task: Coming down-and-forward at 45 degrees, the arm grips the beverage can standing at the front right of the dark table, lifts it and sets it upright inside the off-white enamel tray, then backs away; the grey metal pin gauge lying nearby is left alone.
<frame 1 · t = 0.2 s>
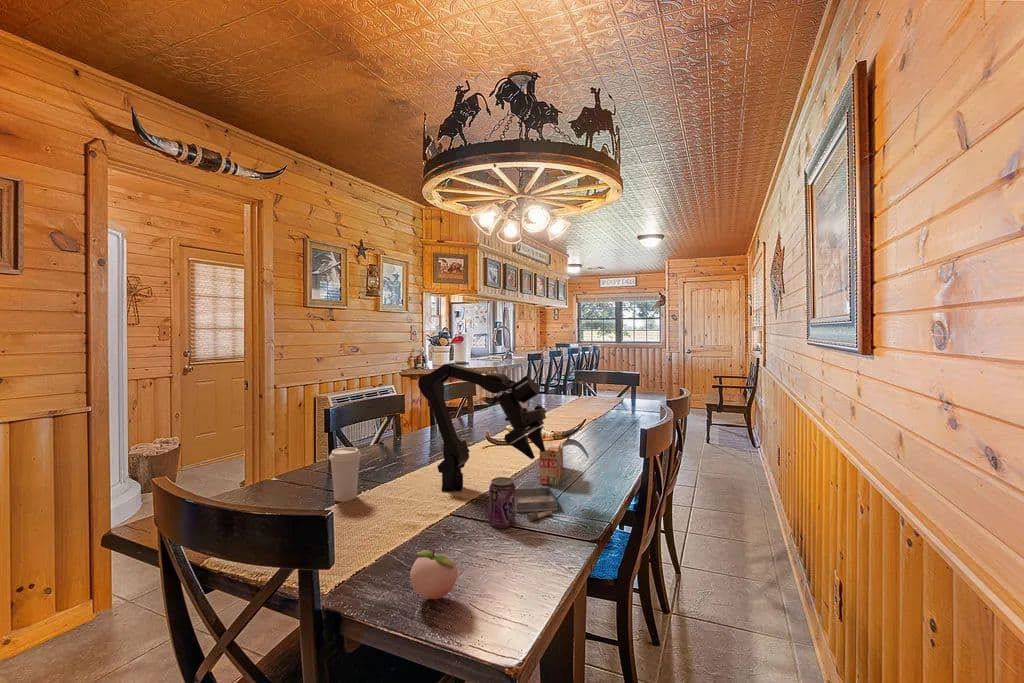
hand: (538, 454, 144), 15 cm above the table, tool tilted 35°, fingers open, 9 cm apart
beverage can: (502, 524, 129), on the table
stack of blocks: (551, 476, 171), on the table
decorative fruit: (432, 601, 93), on the table
pin gauge: (540, 517, 133), on the table
tray: (533, 503, 144), on the table
coffee cup: (345, 498, 148), on the table
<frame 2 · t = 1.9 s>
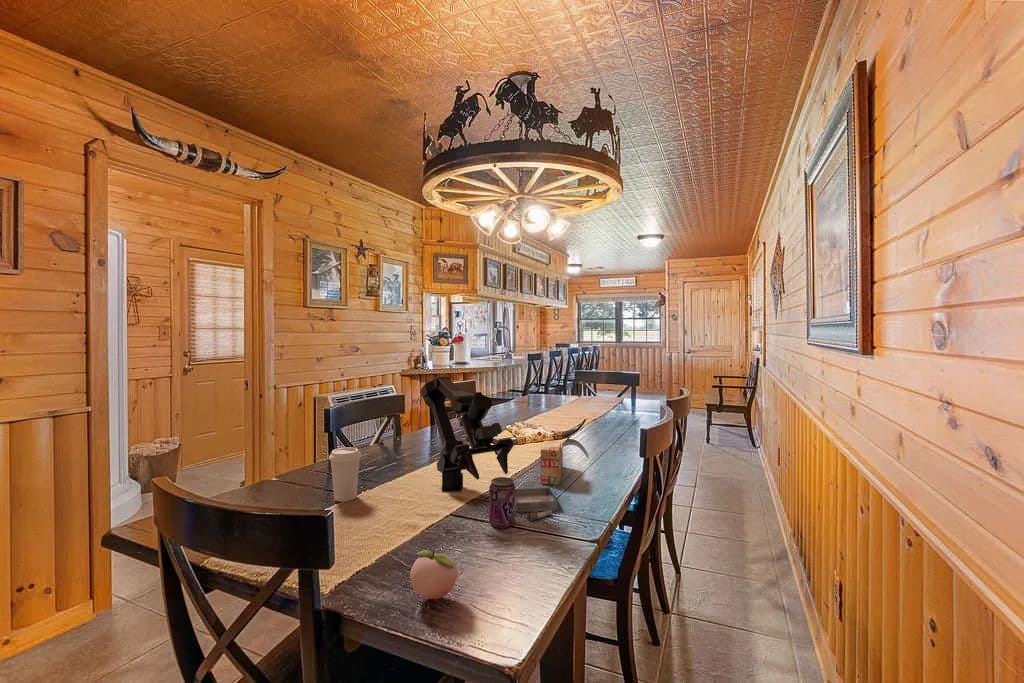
hand: (492, 476, 133), 12 cm above the table, tool tilted 45°, fingers open, 9 cm apart
nothing on the table moved.
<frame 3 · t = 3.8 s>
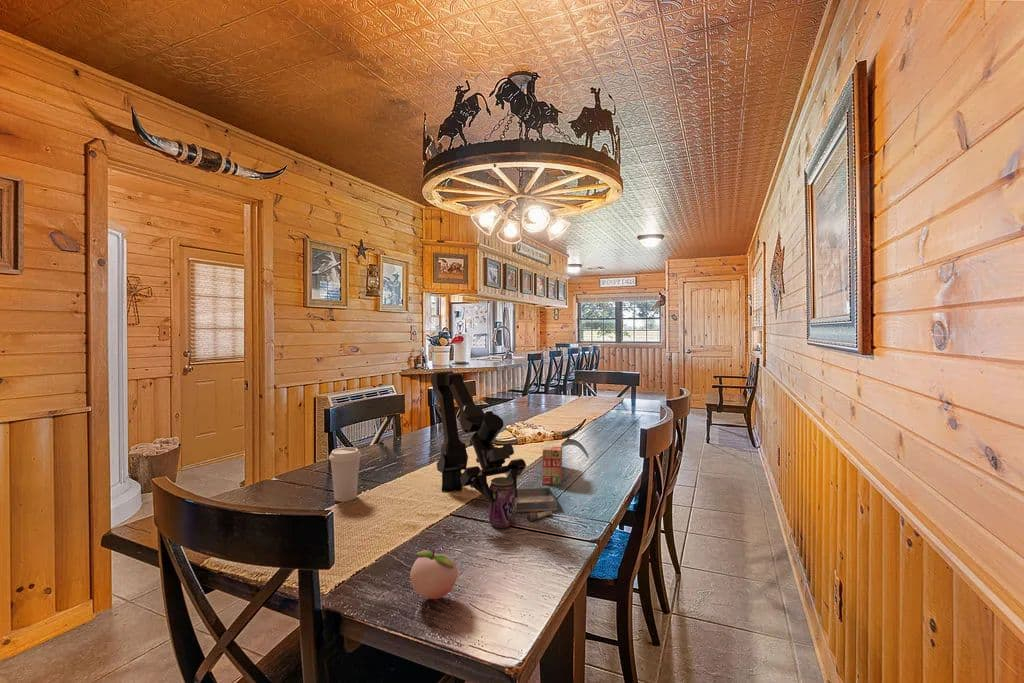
hand: (504, 500, 127), 7 cm above the table, tool tilted 45°, fingers closed on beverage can, 7 cm apart
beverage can: (502, 524, 129), on the table, touching gripper
everything else where it was.
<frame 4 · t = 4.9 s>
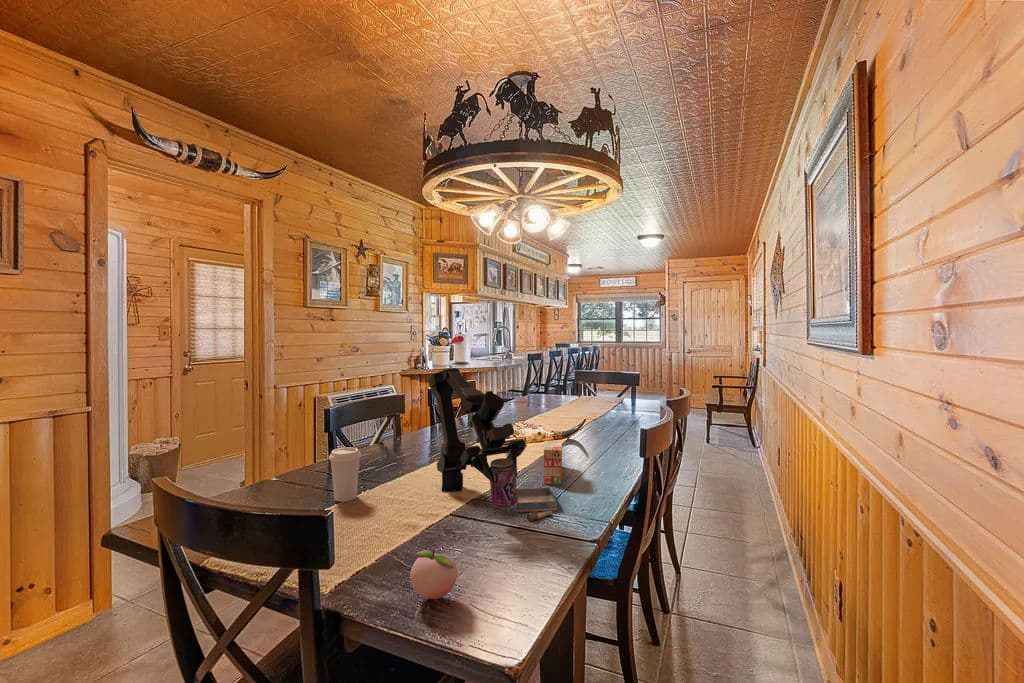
hand: (504, 479, 127), 13 cm above the table, tool tilted 45°, fingers closed on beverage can, 7 cm apart
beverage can: (504, 505, 129), point 5 cm above the table, touching gripper
everything else where it was.
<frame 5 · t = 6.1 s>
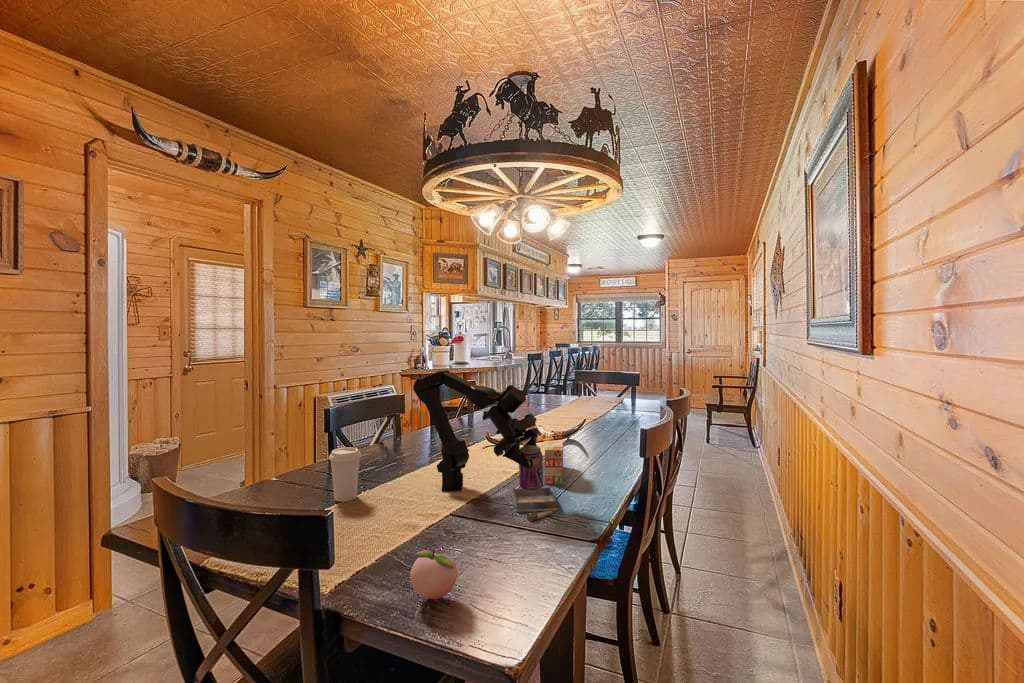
hand: (534, 464, 139), 13 cm above the table, tool tilted 45°, fingers closed on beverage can, 7 cm apart
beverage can: (531, 488, 141), point 5 cm above the table, touching gripper
when the fingers open (9 cm above the table, at t = 7.7 s): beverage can drops 1 cm, resting on tray.
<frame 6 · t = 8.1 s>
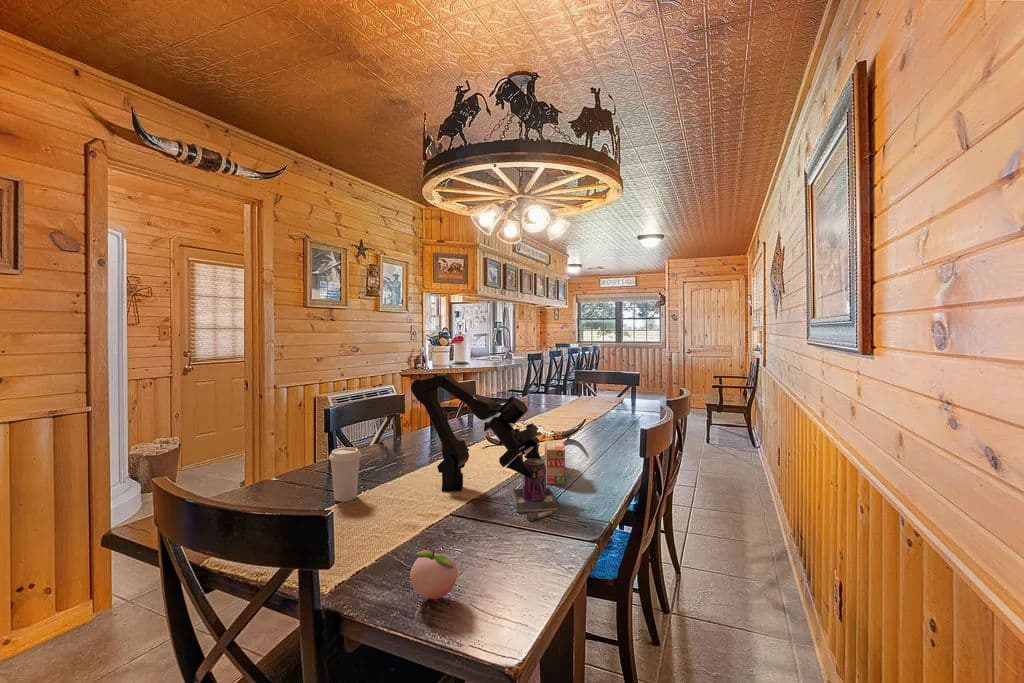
hand: (537, 472, 143), 10 cm above the table, tool tilted 45°, fingers open, 9 cm apart
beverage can: (534, 500, 145), resting on tray, touching gripper
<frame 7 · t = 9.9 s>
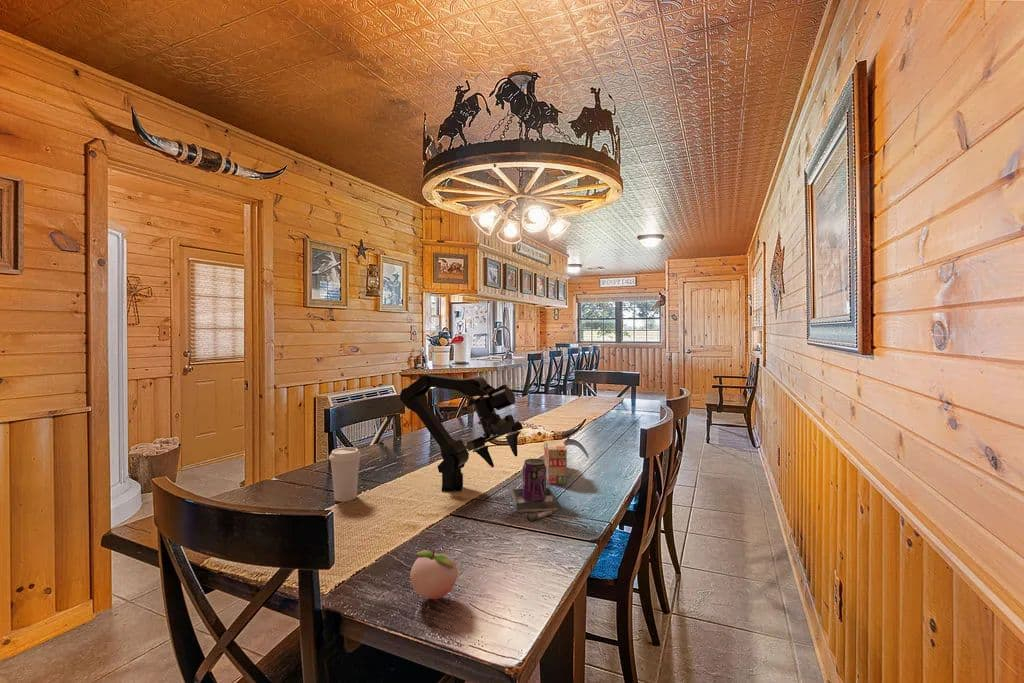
hand: (504, 461, 148), 11 cm above the table, tool tilted 25°, fingers open, 9 cm apart
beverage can: (534, 500, 145), resting on tray
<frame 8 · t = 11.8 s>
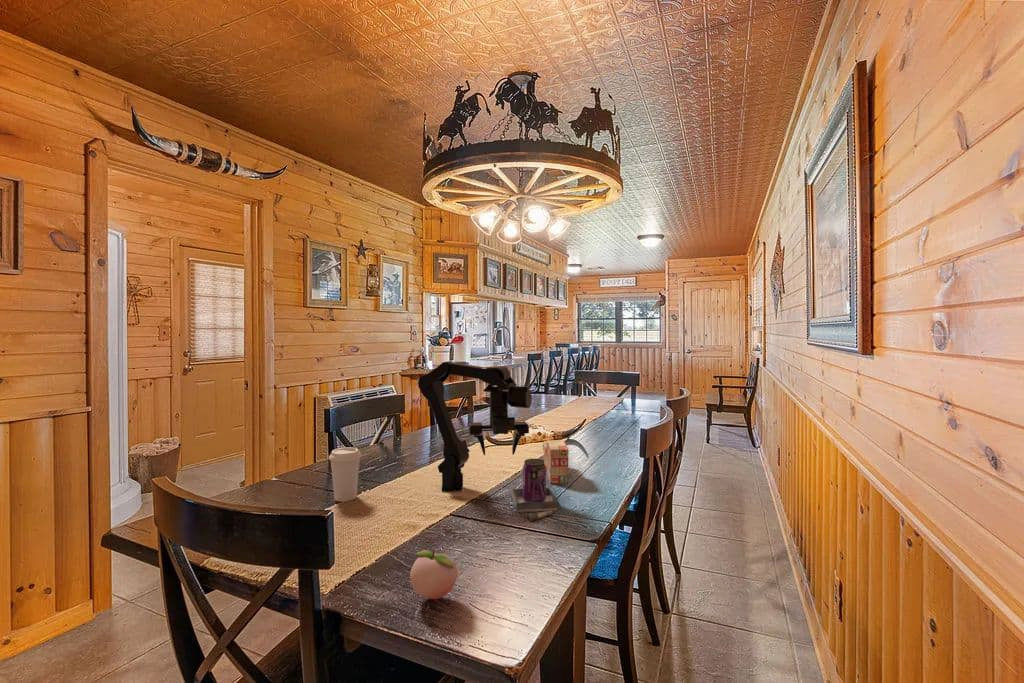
hand: (498, 454, 150), 13 cm above the table, tool pointing down, fingers open, 9 cm apart
at the end: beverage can inside the target area on the tray (1.1 cm from its centre), point 0.4 cm above the tray's base; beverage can tilted 0°; the gripper is holding nothing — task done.
